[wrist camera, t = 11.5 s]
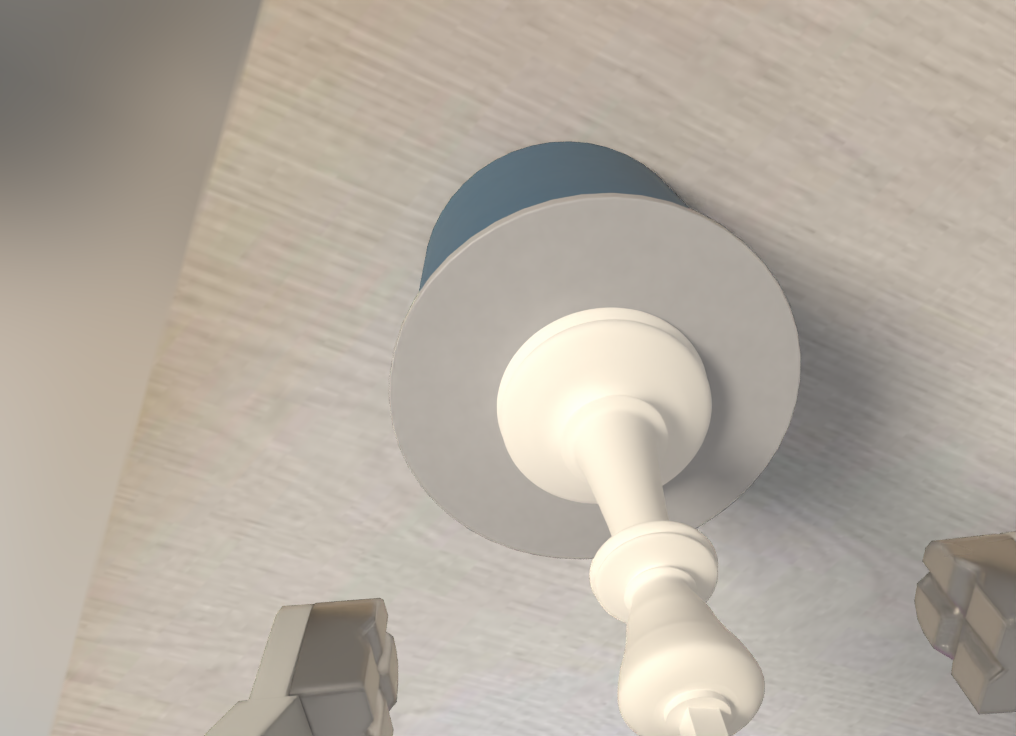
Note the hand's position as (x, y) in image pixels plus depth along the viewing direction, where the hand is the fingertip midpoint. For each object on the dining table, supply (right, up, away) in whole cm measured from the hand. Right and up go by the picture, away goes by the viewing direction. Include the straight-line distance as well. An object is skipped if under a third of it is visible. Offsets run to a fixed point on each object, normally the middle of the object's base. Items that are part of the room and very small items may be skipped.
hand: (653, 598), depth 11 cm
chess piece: (0, +3, +6) cm, 7 cm away
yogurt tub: (0, +6, +13) cm, 15 cm away
